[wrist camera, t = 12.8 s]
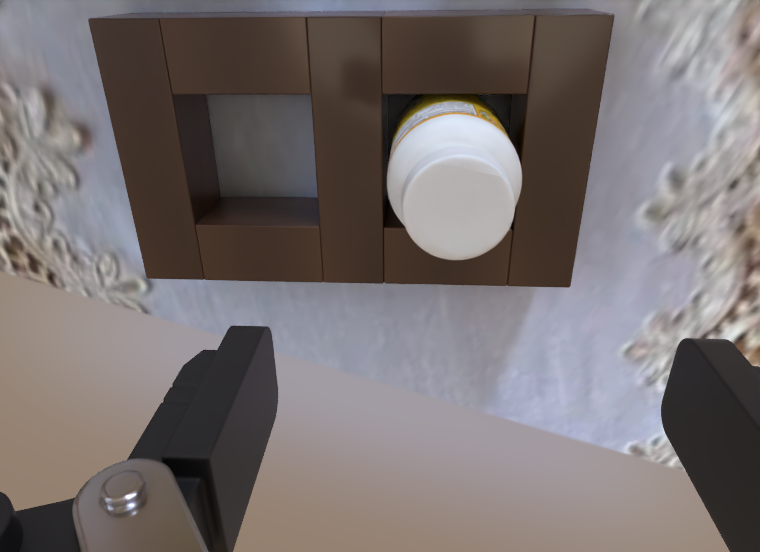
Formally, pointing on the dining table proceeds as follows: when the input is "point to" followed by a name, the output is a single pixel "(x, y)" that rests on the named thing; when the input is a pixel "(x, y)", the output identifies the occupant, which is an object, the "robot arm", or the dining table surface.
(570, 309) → the dining table surface
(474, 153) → the supplement bottle
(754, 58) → the dining table surface
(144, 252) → the holder
